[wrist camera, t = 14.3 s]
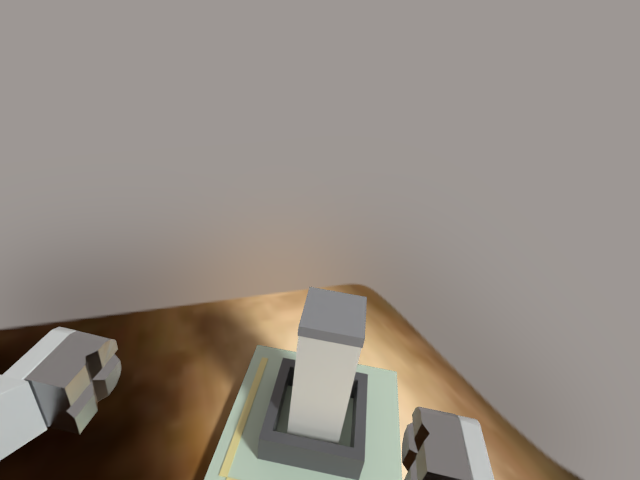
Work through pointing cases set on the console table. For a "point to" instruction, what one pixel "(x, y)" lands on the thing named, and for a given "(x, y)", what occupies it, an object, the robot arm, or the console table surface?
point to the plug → (326, 363)
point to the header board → (299, 452)
